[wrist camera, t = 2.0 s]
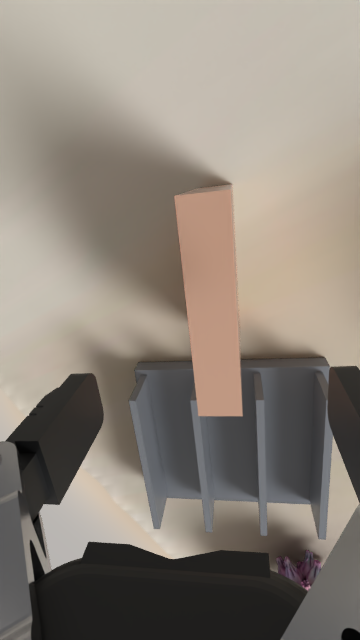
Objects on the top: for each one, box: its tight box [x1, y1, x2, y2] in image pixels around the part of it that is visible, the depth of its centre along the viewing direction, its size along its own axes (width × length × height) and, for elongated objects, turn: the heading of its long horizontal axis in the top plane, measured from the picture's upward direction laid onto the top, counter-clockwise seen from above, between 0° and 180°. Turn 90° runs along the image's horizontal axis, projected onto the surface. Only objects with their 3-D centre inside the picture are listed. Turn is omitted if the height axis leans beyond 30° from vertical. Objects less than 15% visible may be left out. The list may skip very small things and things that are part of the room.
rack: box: [129, 358, 333, 540], centre depth 32 cm, size 16×17×6 cm
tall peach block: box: [174, 184, 243, 416], centre depth 23 cm, size 12×2×12 cm, turn 6°
